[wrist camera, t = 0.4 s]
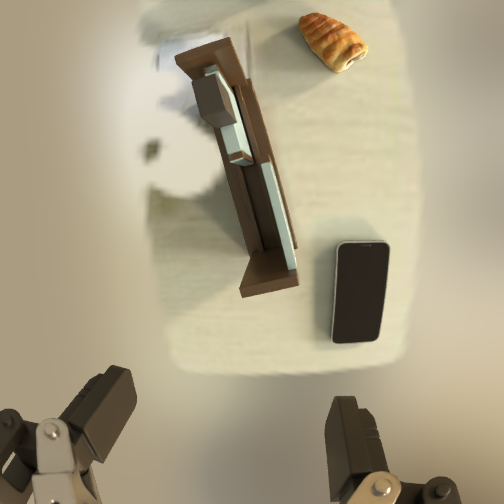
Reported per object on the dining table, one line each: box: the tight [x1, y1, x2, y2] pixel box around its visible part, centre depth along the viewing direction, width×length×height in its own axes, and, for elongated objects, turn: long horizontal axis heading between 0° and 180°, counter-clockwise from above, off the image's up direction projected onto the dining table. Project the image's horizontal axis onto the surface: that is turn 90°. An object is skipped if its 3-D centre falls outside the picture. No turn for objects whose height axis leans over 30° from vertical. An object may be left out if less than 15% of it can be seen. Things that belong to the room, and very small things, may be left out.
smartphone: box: [331, 240, 390, 344], centre depth 37 cm, size 7×1×15 cm
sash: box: [192, 64, 254, 166], centre depth 24 cm, size 2×9×15 cm, turn 15°
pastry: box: [298, 13, 368, 73], centre depth 27 cm, size 9×7×4 cm
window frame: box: [175, 37, 299, 298], centre depth 28 cm, size 6×22×14 cm, turn 15°
